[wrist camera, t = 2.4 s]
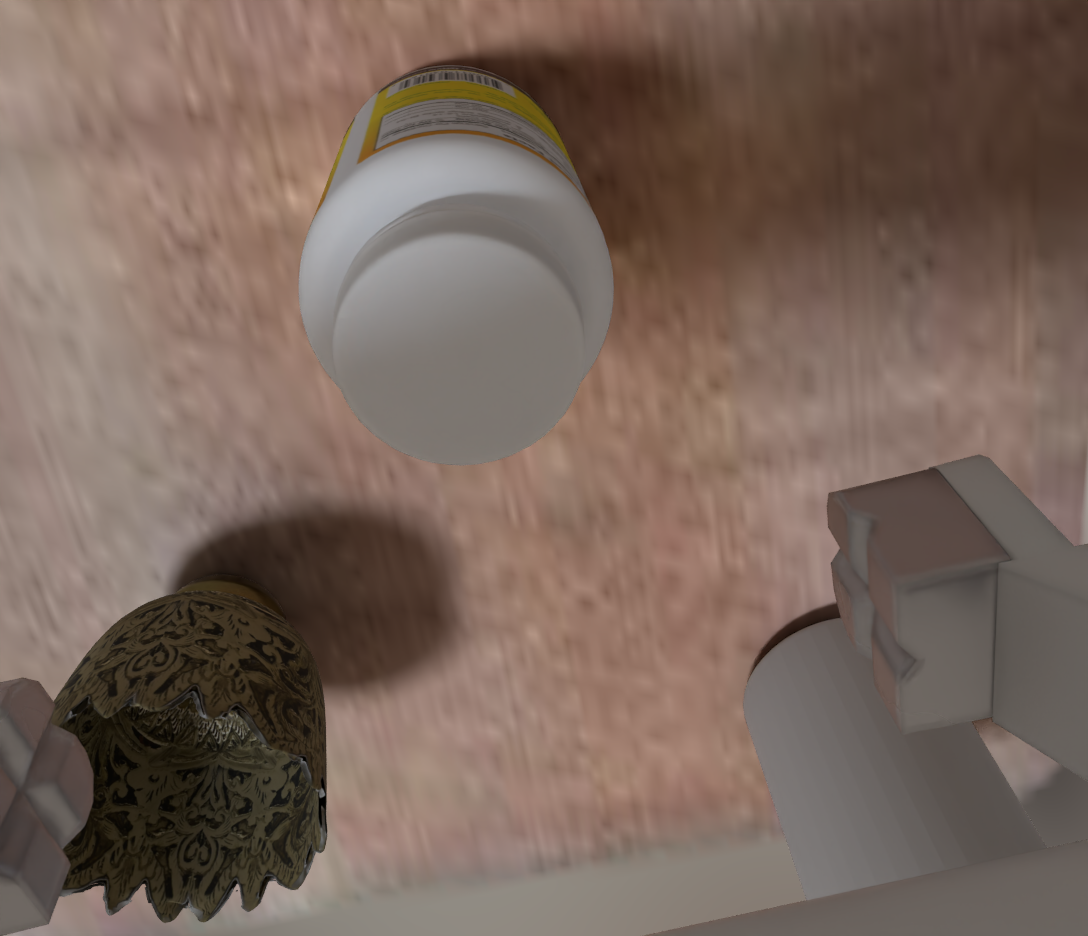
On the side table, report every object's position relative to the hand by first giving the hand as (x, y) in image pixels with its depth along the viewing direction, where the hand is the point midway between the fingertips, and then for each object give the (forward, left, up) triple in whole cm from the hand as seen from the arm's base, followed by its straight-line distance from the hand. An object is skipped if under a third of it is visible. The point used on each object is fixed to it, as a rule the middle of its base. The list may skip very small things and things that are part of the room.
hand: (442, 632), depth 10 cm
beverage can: (-8, +19, -17) cm, 27 cm away
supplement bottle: (0, 0, -17) cm, 17 cm away
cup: (+10, +11, -17) cm, 22 cm away
